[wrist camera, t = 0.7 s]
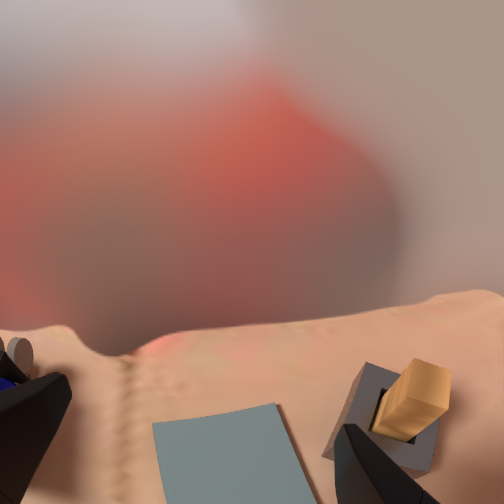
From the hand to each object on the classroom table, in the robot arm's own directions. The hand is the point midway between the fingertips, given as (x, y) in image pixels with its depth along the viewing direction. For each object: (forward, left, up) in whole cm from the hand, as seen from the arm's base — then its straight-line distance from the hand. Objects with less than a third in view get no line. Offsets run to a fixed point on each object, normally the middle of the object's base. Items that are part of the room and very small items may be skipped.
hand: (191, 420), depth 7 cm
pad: (+1, -2, -16) cm, 16 cm away
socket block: (0, -16, -16) cm, 22 cm away
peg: (0, -16, -16) cm, 22 cm away
